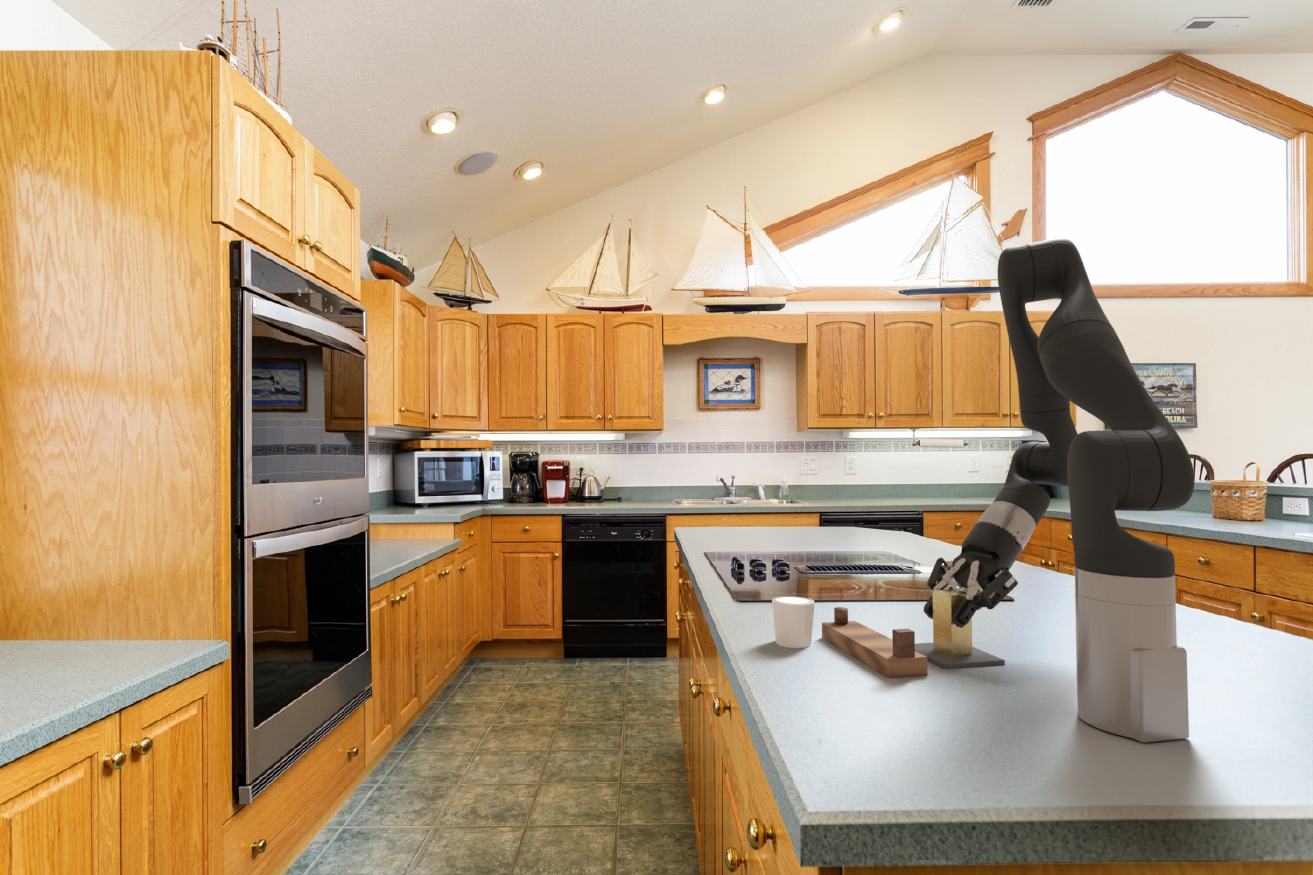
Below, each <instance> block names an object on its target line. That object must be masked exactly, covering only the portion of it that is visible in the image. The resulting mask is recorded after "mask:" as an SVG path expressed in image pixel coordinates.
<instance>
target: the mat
mask: <svg viewBox="0 0 1313 875" xmlns="http://www.w3.org/2000/svg"><path fill="white" fill-rule="evenodd" d="M915 651H917V652H919V653H921V654H923V655H925V656H927V662H930V663H932V664H934V665H935V666H939V667H940V668H942V669H955V668H970V667H973V668H974V667H984V666H985V667H986V666H998V665H999V666H1000V665H1005V664H1006V662H1005V661H1006V660H1005V659H1003V658H1000V657H998V656H997V655H994V654H991V653H989V652H987V651H984V650H982V649H980V648H977V647H974V646H972V654H966V655H959V656H953V657H952V656H949V655H947V654H944V653H941V652H938V651H936V650H934V643H933V642H921V643H920V642H919V643H915Z"/></svg>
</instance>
